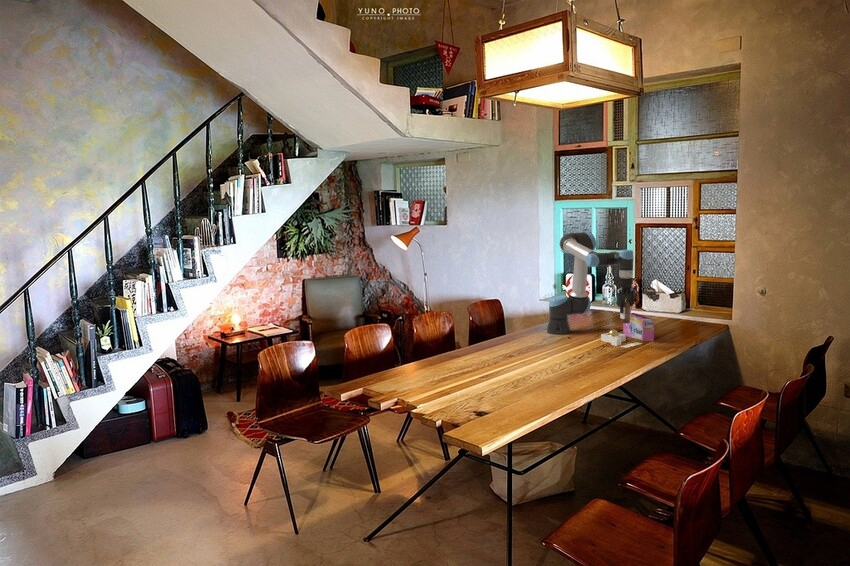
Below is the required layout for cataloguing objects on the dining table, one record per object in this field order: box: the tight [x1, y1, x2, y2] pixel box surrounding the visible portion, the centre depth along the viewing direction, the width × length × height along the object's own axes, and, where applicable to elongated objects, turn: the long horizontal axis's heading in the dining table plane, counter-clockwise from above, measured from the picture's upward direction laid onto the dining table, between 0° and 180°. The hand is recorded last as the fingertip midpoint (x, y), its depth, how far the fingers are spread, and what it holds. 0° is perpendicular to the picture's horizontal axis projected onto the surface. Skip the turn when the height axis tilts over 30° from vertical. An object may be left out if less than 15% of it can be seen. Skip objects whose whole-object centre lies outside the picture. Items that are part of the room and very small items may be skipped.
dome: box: [607, 329, 620, 337], centre depth 386 cm, size 7×7×6 cm
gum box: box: [622, 312, 655, 342], centre depth 397 cm, size 24×8×14 cm, turn 13°
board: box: [620, 341, 643, 349], centre depth 382 cm, size 22×16×1 cm
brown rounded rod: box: [621, 301, 630, 324], centre depth 370 cm, size 4×4×12 cm
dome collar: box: [600, 332, 627, 344], centre depth 386 cm, size 10×10×4 cm
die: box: [610, 337, 622, 347], centre depth 377 cm, size 4×4×4 cm
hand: (625, 317), depth 370 cm, fingers closed on brown rounded rod, 4 cm apart
